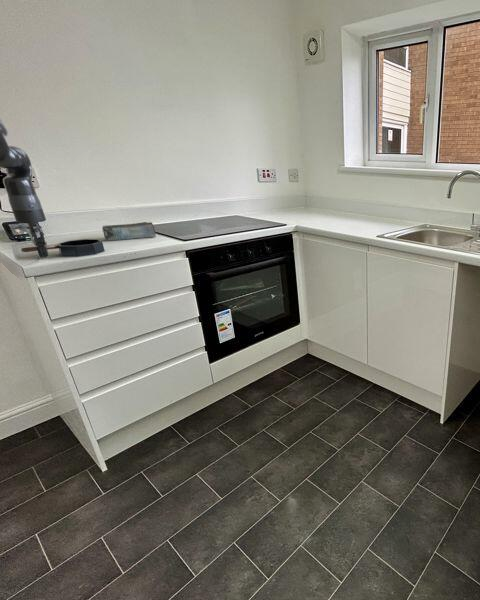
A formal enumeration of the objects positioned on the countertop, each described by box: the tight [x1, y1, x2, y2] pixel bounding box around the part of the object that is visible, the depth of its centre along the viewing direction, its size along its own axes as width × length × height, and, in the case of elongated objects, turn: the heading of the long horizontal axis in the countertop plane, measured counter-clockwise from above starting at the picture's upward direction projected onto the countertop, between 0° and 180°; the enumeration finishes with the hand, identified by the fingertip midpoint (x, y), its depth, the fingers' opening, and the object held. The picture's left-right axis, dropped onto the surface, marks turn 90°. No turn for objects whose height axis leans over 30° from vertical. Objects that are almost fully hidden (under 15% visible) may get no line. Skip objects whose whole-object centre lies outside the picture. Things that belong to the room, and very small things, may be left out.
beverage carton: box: [102, 221, 156, 242], centre depth 162 cm, size 8×19×7 cm, turn 127°
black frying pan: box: [20, 238, 106, 258], centre depth 132 cm, size 22×13×4 cm, turn 140°
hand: (43, 256), depth 128 cm, fingers closed on black frying pan
